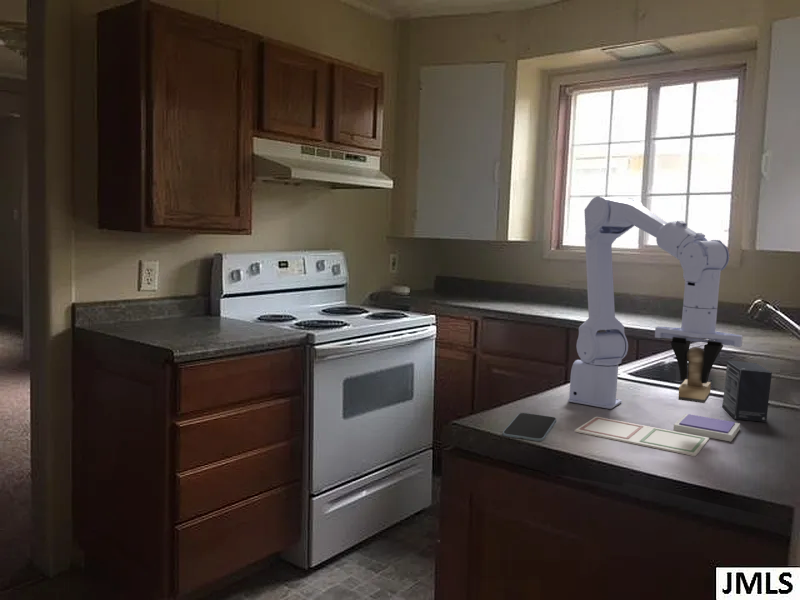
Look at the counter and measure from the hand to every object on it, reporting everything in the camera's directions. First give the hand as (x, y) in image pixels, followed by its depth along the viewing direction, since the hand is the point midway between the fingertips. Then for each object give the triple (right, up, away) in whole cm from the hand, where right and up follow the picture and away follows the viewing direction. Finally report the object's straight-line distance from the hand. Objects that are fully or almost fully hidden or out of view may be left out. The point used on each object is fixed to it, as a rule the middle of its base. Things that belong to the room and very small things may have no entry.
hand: (693, 380), depth 126 cm
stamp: (0, -3, +1) cm, 3 cm away
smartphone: (-29, -10, +3) cm, 31 cm away
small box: (+18, -9, +18) cm, 27 cm away
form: (-9, -10, +1) cm, 14 cm away
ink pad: (+5, -10, +5) cm, 12 cm away
